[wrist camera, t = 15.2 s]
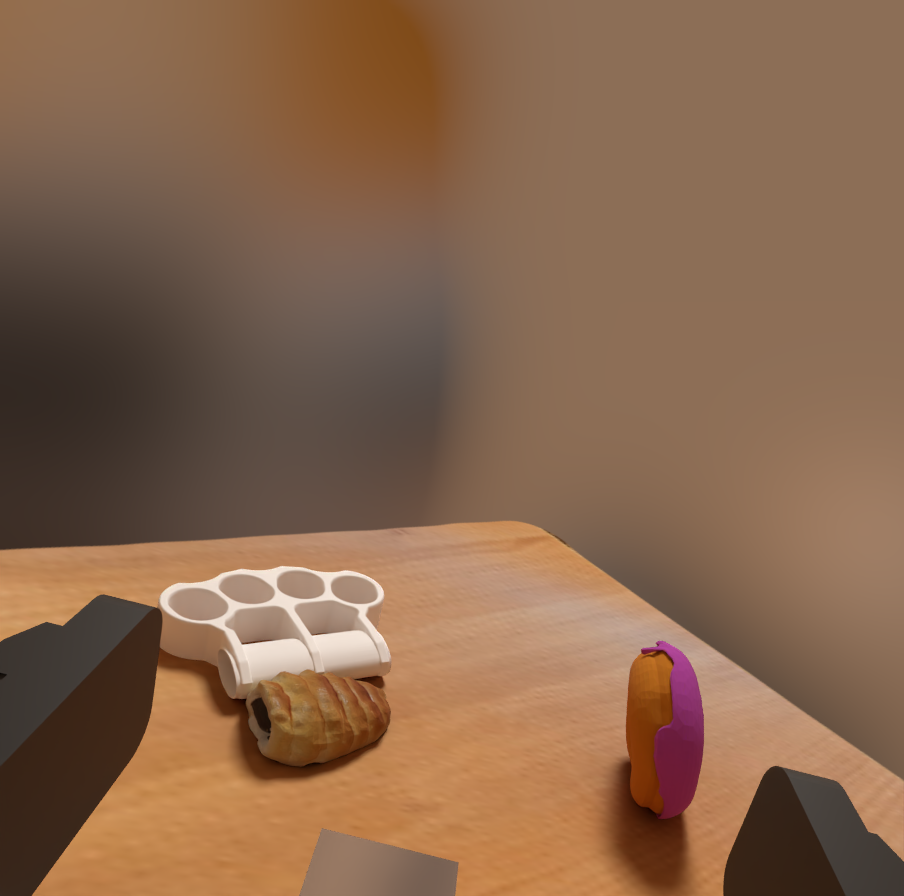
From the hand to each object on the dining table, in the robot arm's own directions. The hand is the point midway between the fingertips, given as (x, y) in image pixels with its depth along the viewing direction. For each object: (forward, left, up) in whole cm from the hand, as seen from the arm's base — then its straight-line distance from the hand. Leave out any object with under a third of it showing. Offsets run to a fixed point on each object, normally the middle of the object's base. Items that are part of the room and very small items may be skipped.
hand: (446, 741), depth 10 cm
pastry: (-7, +34, -27) cm, 44 cm away
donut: (+16, +36, -27) cm, 48 cm away
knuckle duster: (-11, +43, -28) cm, 53 cm away
